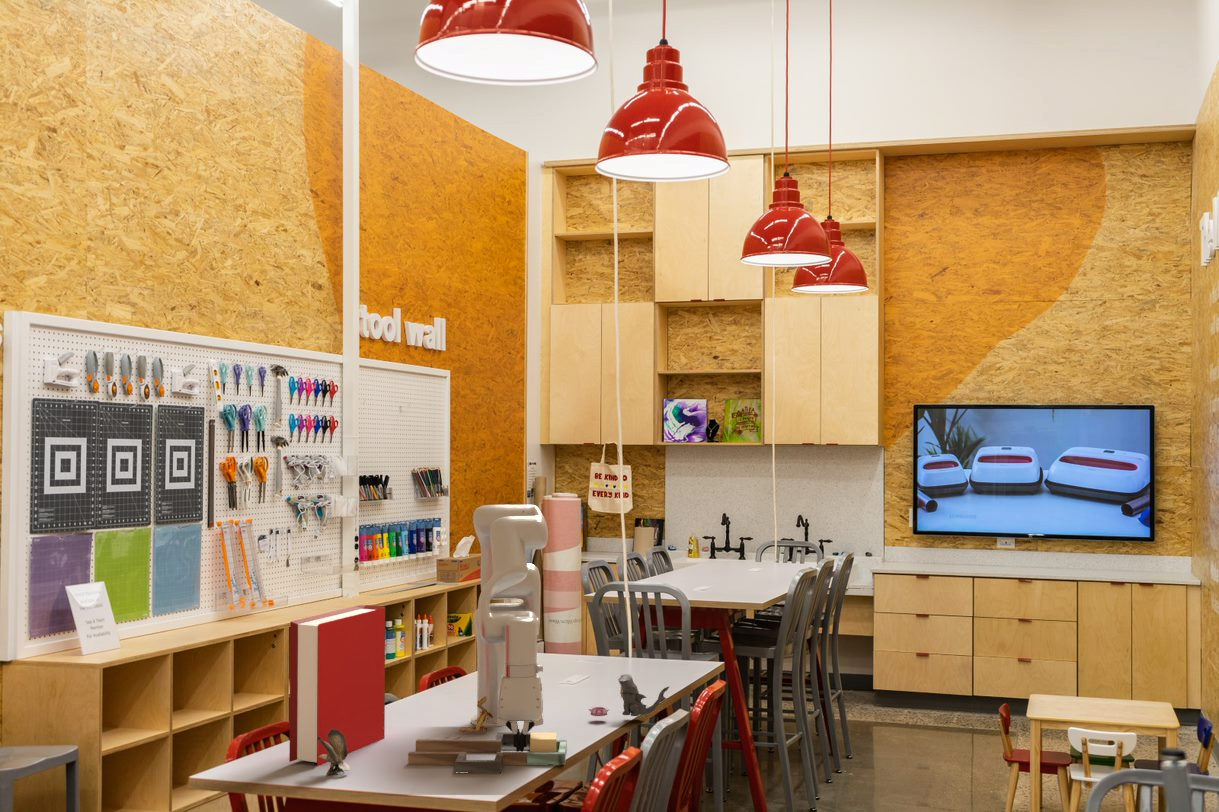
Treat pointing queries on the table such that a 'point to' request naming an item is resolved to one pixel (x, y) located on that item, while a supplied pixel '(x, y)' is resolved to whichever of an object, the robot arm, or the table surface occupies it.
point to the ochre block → (543, 742)
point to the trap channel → (456, 751)
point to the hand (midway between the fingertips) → (520, 750)
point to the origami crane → (482, 717)
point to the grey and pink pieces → (630, 699)
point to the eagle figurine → (335, 752)
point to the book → (337, 680)
